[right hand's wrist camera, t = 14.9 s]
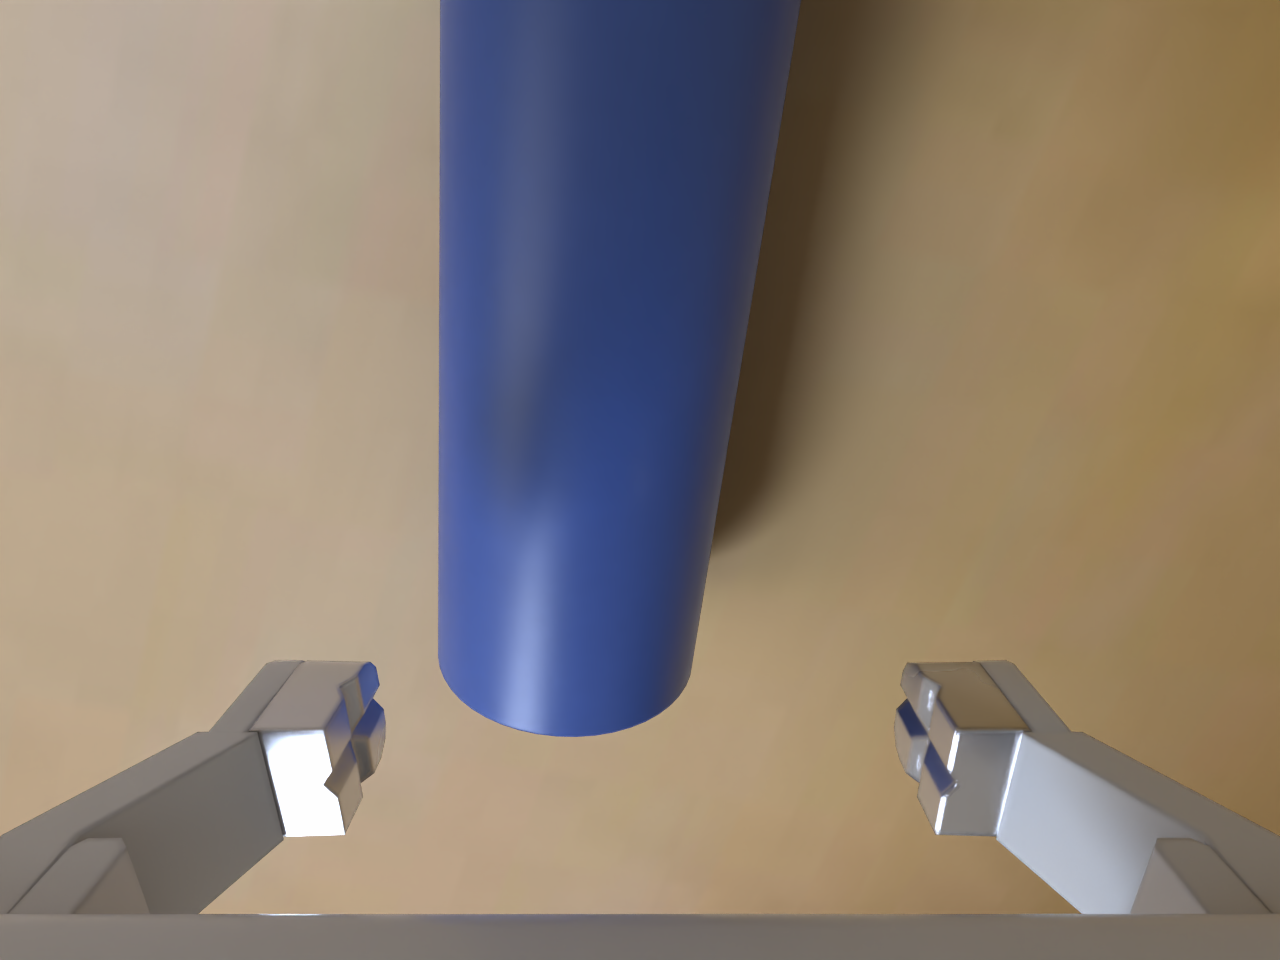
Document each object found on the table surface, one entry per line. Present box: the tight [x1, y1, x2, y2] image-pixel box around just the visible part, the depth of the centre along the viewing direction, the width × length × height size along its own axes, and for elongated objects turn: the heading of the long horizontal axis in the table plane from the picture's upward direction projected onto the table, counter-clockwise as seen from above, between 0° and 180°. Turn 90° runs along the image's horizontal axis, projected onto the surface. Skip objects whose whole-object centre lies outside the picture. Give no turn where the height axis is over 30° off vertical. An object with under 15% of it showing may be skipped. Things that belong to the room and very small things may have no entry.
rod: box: [438, 0, 801, 737], centre depth 13 cm, size 23×6×6 cm, turn 174°
